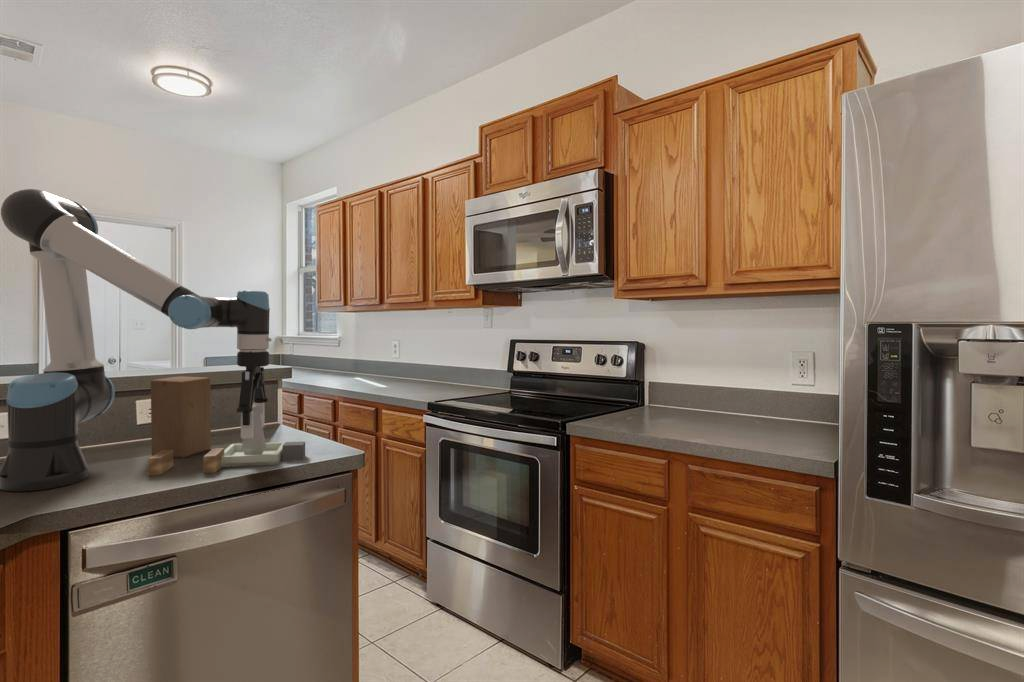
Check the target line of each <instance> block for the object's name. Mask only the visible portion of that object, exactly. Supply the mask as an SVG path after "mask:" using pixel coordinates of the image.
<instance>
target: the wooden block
mask: <svg viewBox="0 0 1024 682" xmlns="http://www.w3.org/2000/svg"><path fill="white" fill-rule="evenodd" d="M211 400H212V399H211V378H210V377H207V376H206V377H203V376H186V375H185V376H183V375H180V376H171V377H164V378H157V379H155V378H154V379H152V380H150V422H151V426H150V427H151V429H150V432H151V456H153V455H155V454H157V453H158V452H160V451H161V450H173V458H187V457H190V456H193V455H195V454H196V455H197V454H200V453H202V452H206V451H208V450H212V449H211V448H212V445H211V444H212V435H211V434H212V433H211V430H212V427H211V426H212V425H211V424H212V423H211V421H212V419H211V414H212V411H211Z"/></svg>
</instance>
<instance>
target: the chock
mask: <svg viewBox="0 0 1024 682" xmlns="http://www.w3.org/2000/svg"><path fill="white" fill-rule="evenodd" d="M284 442H285V441H284ZM305 457H306V441H286V442H285V443H284V444H283V458H282V461H303V460H304V459H305Z"/></svg>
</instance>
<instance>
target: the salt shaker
mask: <svg viewBox="0 0 1024 682" xmlns="http://www.w3.org/2000/svg"><path fill="white" fill-rule="evenodd" d="M252 411H253V438H242V443H241V444H242V450H243V452H244V455H259V454H262V453H263V452H264V450H265V448H266V443H267V442H266V439H265V434H264V427H262V422H261V417H260V415H261V414H263V407H262V406H259V405H253V408H252Z"/></svg>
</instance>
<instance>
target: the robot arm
mask: <svg viewBox="0 0 1024 682" xmlns="http://www.w3.org/2000/svg"><path fill="white" fill-rule="evenodd" d="M0 217H1V220H2V222H3V224H4V226H5V227H6V228H7V230H8V231H9V232H11V233H12V235H14V236H16V237H17V238H19V239H22V240H24V241H25V242H27V243H28V246H29V254H30V255H31V256H32V257H33V258H35V259H36V260H38V263H39V268H40V269H39V270H40V278H41V286H42V287H41V289H42V296H43V304H44V306H43V307H44V312H45V313H44V314H45V322H46V332H47V343H48V348H49V349H48V350H49V357H50V361H49V363H48V365H46V367H44V369H43V370H42V371H43V372H41V373H36V374H30V375H25V376H20V377H18V378H15V379H13V380H12V381H11V382H9V384H8V387H7V394H6V399H5V400H6V401H5V402H6V404H7V405H6V406H7V408H6V409H7V433H8V452H7V454H6V457H5V459H4V462H3V465H2V468H1V470H0V490H2V491H4V492H5V491H6V492H31V491H32V492H33V491H41V490H49V489H55V488H59V487H64V486H67V485H72V484H75V483H78V482H81V481H83V480H85V479H87V478H88V477H89V465H88V463H87V460H86V458H85V456H84V454H83V452H82V450H81V447H80V445H79V441H78V439H79V436H78V434H79V433H78V431H79V428H78V425H79V424H82V423H83V422H88V421H91V420H94V419H97V417H99V416H101V415H102V414H105V412H106V411H108V409H110V407H111V406H112V405H113V402H114V400H115V396H116V390H115V385H114V384H113V382H112V380H111V379H110V378H108V377H107V376H106V375H105V374H106V372H105V366H104V363H102V362H101V361H99V360H98V359H97V358H96V352H95V351H96V350H95V342H94V332H93V331H94V330H93V323H92V315H91V314H92V313H91V305H90V294H89V287H88V286H89V285H88V276H87V271H88V272H91V273H92V274H93V275H95V276H97V277H99V278H101V279H103V280H104V281H106V282H107V283H110V284H111V285H113V286H115V287H116V288H118V289H120V290H121V291H124V292H125V293H127V294H129V295H131V296H132V297H134V298H136V299H137V300H139V301H141V302H143V303H145V304H146V305H148V306H150V307H152V308H153V309H155V310H157V311H159V312H160V313H162V314H164V316H167V317H168V318H169V319H170V321H171V323H173V324H174V325H176V326H177V327H179V328H182V329H186V330H195V329H196V330H197V329H202V328H203V329H204V328H236V329H237V331H236V349H237V350H239V351H237V352H236V364H237V366H238V367H244V368H245V371H241V384H240V385H241V386H240V393H239V395H240V396H239V401H238V408H236V412H237V413H240V439H243V438H253V411H252V408H253V405H259V406H262V407H263V414H261V415H260V417H261V422H262V427H263V428H265V403H268V401H269V400H268V399H269V398H267V393H266V383H265V372H264V371H265V367H267V366H269V365H270V352H269V351H268V350H269V349H270V342H272V341H273V340H272V338H271V337H270V309H271V308H270V301H269V299H270V298H269V294H268V293H267V292H266V291H262V290H238V291H237V293H236V297H214V296H213V297H211V296H203V295H202V296H200V295H199V294H197V293H195V292H193V291H191V290H190V289H188V288H187V287H184V286H183V285H182V284H180V283H179V282H176V281H175V280H174V279H172V278H170V277H168V276H166V275H165V274H163V273H161V272H160V271H158V270H156V269H155V268H153V267H152V266H150V265H148V264H146V263H145V262H143V261H141V260H139V259H138V258H136V257H135V256H133V255H131V254H130V253H128V252H126V251H124V250H123V249H121V248H119V247H118V246H116V245H114V244H113V243H111V242H110V241H108V240H106V239H104V238H103V237H101V236H99V235H98V234H99V226H98V222H97V220H96V218H95V216H94V215H93V213H92V212H91V211H90V210H89V209H88V208H86V207H85V206H83V205H81V204H80V203H78V202H76V201H74V200H71V199H68V198H64V197H61V196H58V195H56V194H52V193H51V192H47V191H45V190H41V189H35V188H34V189H33V188H26V189H20V190H18V191H15V192H13V193H11V194H9V196H7V197H6V198H5V199H4V201H3V202H2V204H1V208H0Z"/></svg>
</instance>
